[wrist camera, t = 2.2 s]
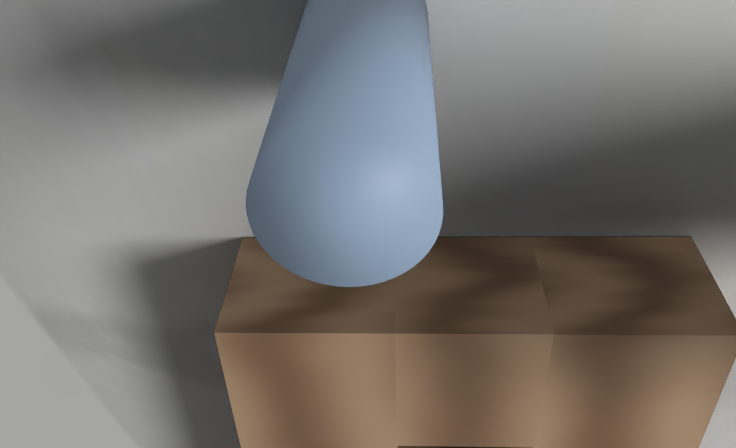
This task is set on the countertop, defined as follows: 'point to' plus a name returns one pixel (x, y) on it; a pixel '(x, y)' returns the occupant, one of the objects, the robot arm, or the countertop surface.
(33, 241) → the countertop surface
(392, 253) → the peg
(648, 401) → the socket block
